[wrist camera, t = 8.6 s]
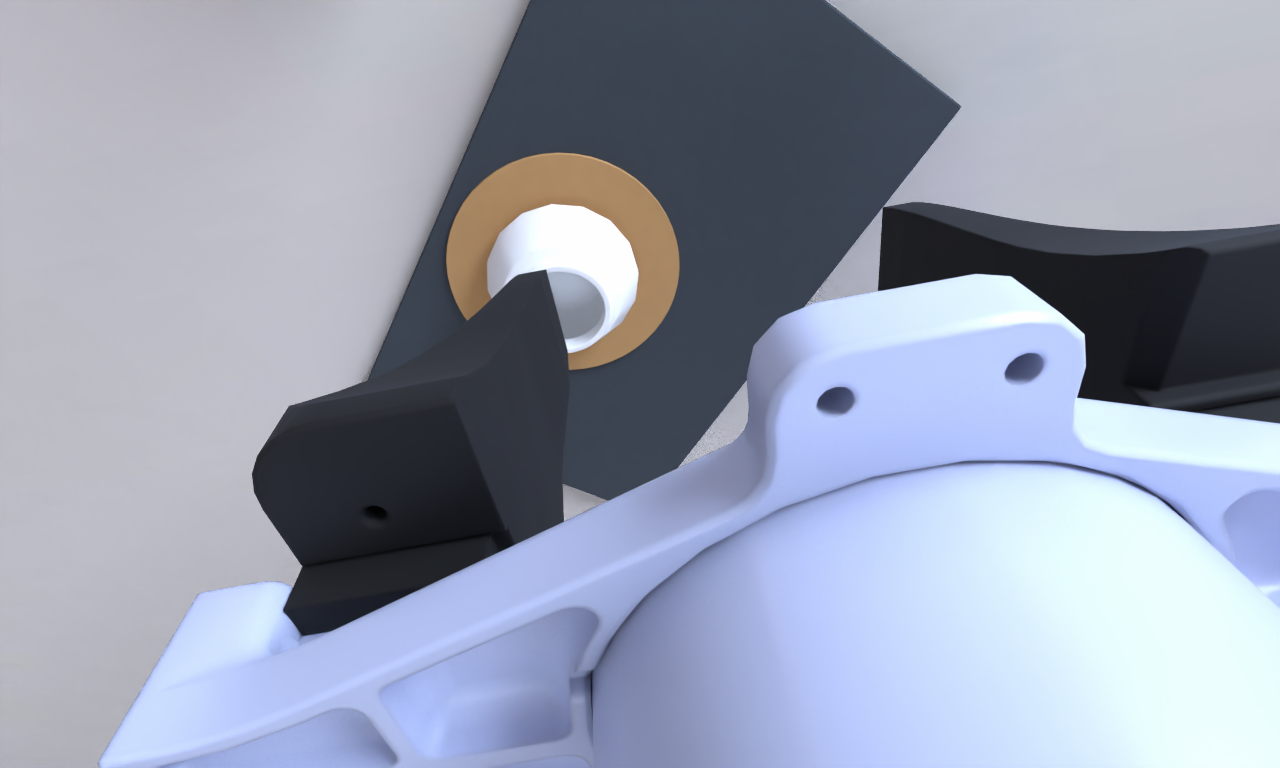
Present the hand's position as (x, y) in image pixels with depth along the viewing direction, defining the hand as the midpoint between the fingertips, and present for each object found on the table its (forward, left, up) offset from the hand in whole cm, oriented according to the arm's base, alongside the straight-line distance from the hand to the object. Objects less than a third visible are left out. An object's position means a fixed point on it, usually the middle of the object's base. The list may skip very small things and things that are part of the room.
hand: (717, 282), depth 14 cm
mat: (-1, +4, -9) cm, 10 cm away
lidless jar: (+1, +5, -8) cm, 10 cm away
